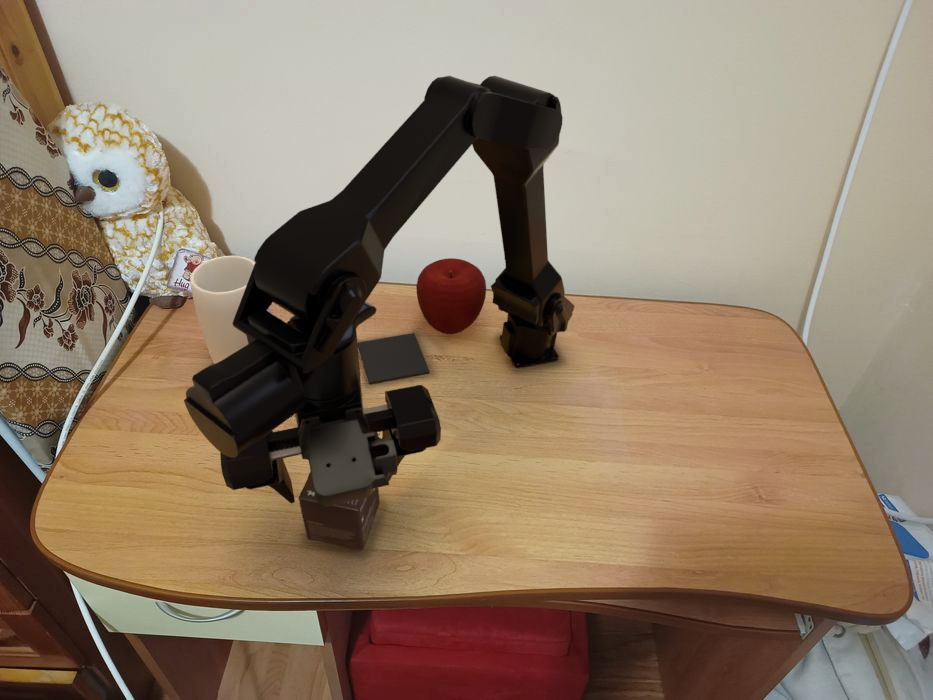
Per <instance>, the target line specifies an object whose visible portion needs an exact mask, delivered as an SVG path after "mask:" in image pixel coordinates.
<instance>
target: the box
mask: <svg viewBox="0 0 933 700" xmlns="http://www.w3.org/2000/svg"><path fill="white" fill-rule="evenodd" d="M298 502H299V506H300V511H301V515H302V520H303V525H304V526H303V527H304V530H305V535H306V539H307V540H308V541H312V542H313V541H314V542H319V543H322V544H323V543H324V544H327V545H333V546H339V547H343V548H348V549H353V550H358V551H363V550H364V548H365V546H366V543H367V541H368V538H369V536H370V532H371V530H372V528H373V525H374V522H375V520H376V519H375V518H376V516H377V513H378V509H379V507H380V504H381V503H380V502H381V501H380V490H379V487H378V488H374V491H373V493H372V494H371V495H370V496H369V497H367V498H364V499H357V500H352V501H348V502H344V503H339V504H336V505H334V506H329V507H325V506H322V505H320V504H319V503H318V502H317V500H316V497H315V493H314V488H313V482H312V476H311V471H309V473H308V475H307V479H306V482H305V483H304V485H303V486H302V490H301V491H300V493H299V495H298Z"/></svg>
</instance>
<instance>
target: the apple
mask: <svg viewBox="0 0 933 700" xmlns="http://www.w3.org/2000/svg"><path fill="white" fill-rule="evenodd" d="M415 287H416V288H415V289H416V297H417V303H418V307H419V309H420V311H421V313H422V316H423V317H424V319H425V321H426V322H427V323H428V325H429V326H430V327H431V328H433V329H434V330H435V331H437V332H438V333H441V334H443V335H456V334H459V333H462V332H464V331H465V330H467V329H468V328H469V327H471V326H472V325H473V324H474V322H476V320H477V319H478V317H479V316H480V314H481V311H482V310H483V307H484V304H485V301H486V295H487V283H486V279H485V276H484V274H483V272H482V271H481V269H480V268H479V267H478V266H476V265H475V264H473V263H471V262H469V261H467V260H465V259H461V258H451V257H449V258H441V259H438V260H436V261H433V262H431V263H429V264H428V265H426V266H425V267H424V268H423V269H422V270H421V272H420V273H419V275H418V277H417V281H416V286H415Z"/></svg>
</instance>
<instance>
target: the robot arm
mask: <svg viewBox="0 0 933 700" xmlns="http://www.w3.org/2000/svg"><path fill="white" fill-rule="evenodd" d="M423 99H424V100H423V101H422V102H421V103H420V104H419V105H418V107H417V108H416V109H414V111H413V112H412V113H411V114H410V115H409V116H408V117H407V119H406V120H404V122H403V123H402V124H401V125H400V126H399V127H398V128H397V130H396V131H394V133H393V134H392V135H391V136H390V137H389V138H388V139H387V141H386V142H385V143H384V144H383V145H382V146H380V149H379V150H378V151H376V152H375V154H374V155H373V156H372V157H371V158H370V159H369V161H368V162H367V163H366V164H364V165H363V167H362V168H361V169H360V171H358V172H357V174H356V175H355V176H354V177H352V179H351V180H350V182H349V183H348V184H347V185H346V186H345V187H344V188H343V189H342V190H341V191H340V192H338V193H337V194H336V195H335V196H334V197H333V198H332V199H330V200H327V201H325V202H321V203H319V204H317V205H313V206H311V207H307V208H304V209H302V210H300V211H298V212H297V213H296V214H295V215H293V216H292V217H290V218H289V219H288V220H287V221H286V222H284V223H283V224H282V225H281V226H280V227H278V228H277V229H276V230H274V231H273V232H272V233H271V234H270V235H269V236H267V237H266V239H265V240H264V241H263V242H262V244H261V245H260V247H259V248H258V249H257V251H256V253H255V256H254V259H253V261H254V262H255V265H254V267H253V270H252V273H251V275H250V278H249V281H248V283H247V286H246V289H245V291H244V294H243V296H242V299H241V302H240V304H239V307H238V310H237V312H236V315H235V317H234V320H233V326H234V327H235V328H237V329H238V330H240V331H241V332H243V333H244V334H246V336H247V340H248V345H246V346H245V347H243V348H241V349H240V350H238V351H236V352H235V353H233V354H232V355H230V356H228V357H227V358H225V359H223V360H222V361H220V362H218V363H216V364H214V363H212V364H210V365H208V366H206V367H205V368H203V369H201V370H200V371H197V372H196V373H195V374H193V375H192V377H191V381H192V383H193V385H192V386H190V387H189V388H187V389H186V392H185V399H183V402H184V405H185V408H186V410H187V412H188V415H189V416H190V417H191V419H192V422H194V424H195V426H196V427H197V428H198V430H199V432H201V434H203V436H204V437H205V439H206V440H207V441H208V442H209V443H210V444H211V445H212V446H213V447H214V448H215V449H216V450H217V451H219V454H220V456H219V457H220V468H221V473H222V477H223V480H224V483H225V485H226V487H227V488H229V489H231V490H233V491H235V490H240V489H247V490H255V489H259V488H264V487H269V488H271V489H273V490H274V491H275V492H277V493H278V494H279V495H280V496H281V497H283V498H284V499H285V500H286V501H287V502H288V503H289V504H294V503H296V500H295V498H296V497H295V493H294V488H293V483H292V479H291V477H290V474H289V471H288V468H287V466H286V463H285V460H284V459H286V458H291V457H295V456H301V458H302V460H306V461H308V464H309V470H310V471H311V476H312V482H313V488H314V493H315V497H316V500H317V502H318V503H319V504H320V505H322V506H325V507H329V506H334V505H336V504H339V503H344V502H348V501H352V500H357V499H364V498H367V497H369V496H370V495H371V494H372V493H373V491H374V488H378V489H379V488H382V487H387V486H389V485H390V481H391V479H392V477H394V476H397V474H398V470H399V469H398V467H399V466H400V464H401V463H402V461H403V460H404V458H405V457H406V456H411V455H415V454H419V453H423V452H425V450H426V449H428V448H429V449H430V448H433V447H437V446H438V444H440V442H441V440H442V426H441V420H440V417H439V415H438V413H437V409H436V407H435V405H434V402H433V398H432V396H431V393H430V392H429V389H428V388H427V387H425V386H424V385H423V384H417V385H411V386H406V387H401V388H396V389H391V390H385V391H384V399H385V403H386V404H381V405H377V406H372V407H367V408H364V403H363V393H362V392H363V391H362V381H361V379H362V378H361V369H360V356H359V347H358V334H357V328H358V327H359V326H360V325H362V324H363V323H364V322H366V321H367V320H369V319H370V318H371V317H373V316H374V315H375V314H376V313H377V307H376V306H375V305H373V304H371V303H369V302H367V300H368V298H369V297H370V295H371V294H372V292H373V291H374V290H375V288H376V286H377V285H378V283H379V282H380V280H381V278H382V273H383V264H384V257H385V251H386V249H387V248H388V246H389V244H390V243H391V241H392V240H393V238H394V237H395V236H396V235H397V234H398V232H400V230H401V229H402V227H404V225H405V224H406V223H407V222H408V221H409V220H410V218H411V217H412V216H413V215H414V213H415V212H416V211H417V210H418V209H419V207H420V206H421V205H422V204H423V203H424V202H425V200H426V199H428V197H429V196H430V194H431V193H432V192H433V191H434V190H435V188H436V187H437V186H438V185H439V184H440V183H441V182H442V181H443V180H444V178H445V177H446V175H447V174H448V173H449V172H450V171H451V170H452V168H453V167H455V165H456V164H457V163H458V162H459V160H460V159H461V158H462V157H463V155H464V154H465V153H466V152H467V151H468V150H469V149H470V147H471V146H472V148H473V151H474V153H475V154H476V155H477V156H478V157H479V159H480V160H481V161H482V163H483V164H484V165H485V166H486V168H487V169H488V170H489V171H490V172H491V174H492V176H493V181H494V182H493V183H494V189H495V198H496V205H497V212H498V218H499V219H498V220H499V226H500V227H499V228H500V233H501V241H502V248H503V257H504V265H505V267H504V269H503V270H502V271H501V272H500V273H499V274H498V276H497V277H496V278H495V280H494V283H492V284H491V285H490V289H491V291H492V304H494V305H496V306H497V309H498V311H500V312H504V313H506V314H507V318H506V321H504V322H503V323H502V330H501V331H502V332H501V334H500V336H499V341H500V346H501V347H502V349H503V351H504V353H505V355H506V356H507V357H508V358H509V360H510V361H511V364H512V365H513V367H514V368H516V369H520V368H525V367H531V366H532V367H533V366H536V365H542V364H546V363H552V362H557V361H558V360H559V358H560V357H559V354H558V352H557V351H556V349H555V346H556V341H557V338H558V337H557V336H558V333H564V332H566V331H567V330H568V326H569V321H570V320H571V318H572V316H573V313H574V310H575V307H576V306H575V304H574V303H572V301H571V300H569V299H568V298H567V297H566V296H565V291H566V290H565V286H564V282H563V281H564V280H563V278H562V276H561V274H560V272H558V271H557V269H556V268H555V267H554V265H553V264H552V263H551V262H550V260H549V255H548V254H549V253H548V238H547V237H548V235H547V233H548V232H547V215H546V214H547V213H546V196H545V177H544V175H545V174H544V173H545V171H544V165H545V163H546V162H547V160H548V159H549V158H550V157H551V156H552V154H553V153H554V152H555V150H556V149H557V147H558V146H559V144H560V136H561V135H560V134H561V131H562V127H563V118H564V117H563V114H562V106H561V101H560V99H559V97H558V96H555V94H553V93H551V92H549V91H546V90H543V89H539V88H536V87H533V86H530V85H526V84H523V83H519V82H516V81H513V80H510V79H507V78H503V77H501V76H497V75H490V76H488V77H486V78H485V79H484V80H482V82H480V84H479V83H475V82H470V81H466V80H463V79H461V78H457V77H455V76H452V75H446V76H439V77H436V78H435V79H433V80H432V81H431V82H430V83H429V85H428V87H427V89H426V92H425V95H424V97H423ZM272 304H274V305H276V306H278V307H280V309H283V310H284V311H286V312H288V313H289V314H291V315H292V316H290V318H289V320H288V321H287V322H285V321H284V320H283V319H281V318H279V317H278V316H276V315H274V314H273V313H272V314H271V313H270V312H268V311H267V309H268V308H269V307H271V306H272ZM293 416H295V421H296V425H297V426H296V427H291V428H287V429H282V430H277V431H274V430H275V429H276V428H278V427H279V426H280V425H282V424H283V423H285V422H286V421H287V420H289V419H291V418H292V417H293ZM380 432H382V435H381V437H380V435H379V433H380ZM310 471H309V472H310Z"/></svg>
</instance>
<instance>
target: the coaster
mask: <svg viewBox="0 0 933 700" xmlns="http://www.w3.org/2000/svg"><path fill="white" fill-rule="evenodd" d="M357 344H358V351H359V353H360V357H361V361H362V364H363V367H364V368H363V369H364V371H365V374H366V377H367V381H368V384H369V385H373V384H374V385H375V384H379V383H385V382H390V381H396V380H400V379H401V380H402V379H407V378H412V377H417V376H422V375H426V374H427V375H428V374H430V372H431V371H430V369H429V366H428V364H427V361H426V358H425V356H424V354H423V351H422V349H421V346H420V344H419V341H418V339H417V337H416V333H415V332H410V333H405V334H399V335H394V336H388V337H382V338H374V339H369V340H364V341H357Z"/></svg>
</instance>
